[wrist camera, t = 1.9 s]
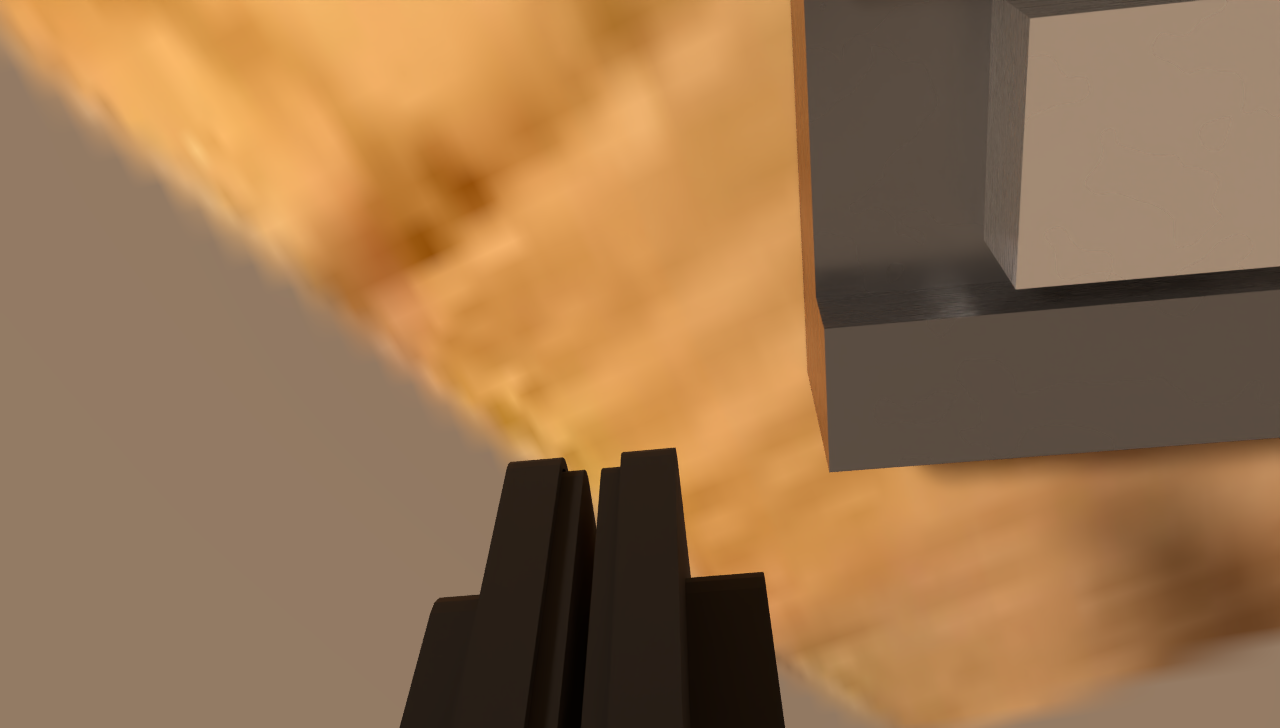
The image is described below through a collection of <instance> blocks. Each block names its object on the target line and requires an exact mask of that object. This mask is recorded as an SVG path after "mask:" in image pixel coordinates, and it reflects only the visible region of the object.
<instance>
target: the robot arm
mask: <svg viewBox="0 0 1280 728" xmlns="http://www.w3.org/2000/svg"><path fill="white" fill-rule="evenodd" d="M400 728H785V725H784V717H783V709H782V702H781V695H780V687H779V680H778V672H777V665H776V658H775V650H774V643H773V635H772V628H771V621H770V613H769V606H768V598H767V591H766V584H765V577H764V573H763V572H757V573H744V574H732V575H719V576H707V577H694V578H691V575H690V566H689V557H688V548H687V539H686V530H685V522H684V513H683V504H682V495H681V486H680V477H679V468H678V460H677V453H676V448H666V449H655V450H643V451H632V452H622V454H621V466H620V467H613V468H602V470H601V479H600V491H599V504H598V517H597V530H596V523H595V517H594V511H593V504H592V498H591V492H590V485H589V480H588V475H587V472H586V470H579V471H568V468H567V464H566V461H565V459H564V458H552V459H540V460H529V461H517V462H510V463H509V464H508V467H507V470H506V475H505V479H504V484H503V489H502V493H501V498H500V503H499V507H498V512H497V517H496V522H495V526H494V531H493V536H492V540H491V545H490V550H489V554H488V559H487V564H486V568H485V573H484V577H483V582H482V587H481V592H480V595H469V596H457V597H444V598H439V599H438V600H437V601H436V602H435V603H434V605H433V608H432V610H431V613H430V616H429V621H428V624H427V628H426V632H425V635H424V639H423V643H422V646H421V650H420V654H419V658H418V661H417V665H416V669H415V672H414V676H413V680H412V684H411V687H410V691H409V695H408V698H407V702H406V706H405V710H404V713H403V717H402V721H401V725H400Z"/></svg>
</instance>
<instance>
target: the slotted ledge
mask: <svg viewBox="0 0 1280 728" xmlns="http://www.w3.org/2000/svg"><path fill="white" fill-rule="evenodd" d="M791 19H792V41H793V63H794V85H795V107H796V129H797V151H798V173H799V195H800V217H801V239H802V260H803V282H804V304H805V326H806V348H807V370H808V376H809V381H810V386H811V390H812V395H813V399H814V404H815V408H816V413H817V418H818V422H819V427H820V431H821V436H822V440H823V445H824V450H825V454H826V459H827V463H828V468H829V472H839V471H852V470H865V469H878V468H891V467H904V466H917V465H930V464H943V463H956V462H969V461H982V460H995V459H1008V458H1021V457H1034V456H1047V455H1060V454H1073V453H1086V452H1099V451H1112V450H1125V449H1138V448H1151V447H1164V446H1177V445H1190V444H1203V443H1216V442H1229V441H1242V440H1255V439H1268V438H1280V266H1277V267H1265V268H1254V269H1243V270H1231V271H1220V272H1209V273H1197V274H1186V275H1174V276H1163V277H1152V278H1140V279H1129V280H1118V281H1106V282H1095V283H1084V284H1072V285H1061V286H1050V287H1038V288H1027V289H1015V288H1014V286H1013V285H1012V283H1011V281H1010V280H1009V278H1008V277H1007V275H1006V274H1005V272H1004V271H1003V269H1002V267H1001V266H1000V264H999V263H998V261H997V260H996V258H995V257H994V255H993V253H992V252H991V250H990V249H989V247H988V246H987V244H986V243H985V241H984V239H983V235H984V208H985V181H986V154H987V127H988V100H989V73H990V46H991V19H992V0H791Z"/></svg>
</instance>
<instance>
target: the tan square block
mask: <svg viewBox="0 0 1280 728" xmlns="http://www.w3.org/2000/svg"><path fill="white" fill-rule="evenodd" d="M983 239H984V241H985V243H986V244H987V246H988V247H989V249H990V250H991V252H992V253H993V255H994V257H995V258H996V260H997V261H998V263H999V264H1000V266H1001V267H1002V269H1003V271H1004V272H1005V274H1006V275H1007V277H1008V278H1009V280H1010V281H1011V283H1012V285H1013V286H1014V288H1015V289H1027V288H1038V287H1050V286H1061V285H1072V284H1084V283H1095V282H1106V281H1118V280H1129V279H1140V278H1152V277H1163V276H1174V275H1186V274H1197V273H1209V272H1220V271H1231V270H1243V269H1254V268H1265V267H1277V266H1280V0H992V19H991V46H990V73H989V100H988V127H987V154H986V181H985V208H984V235H983Z"/></svg>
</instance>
